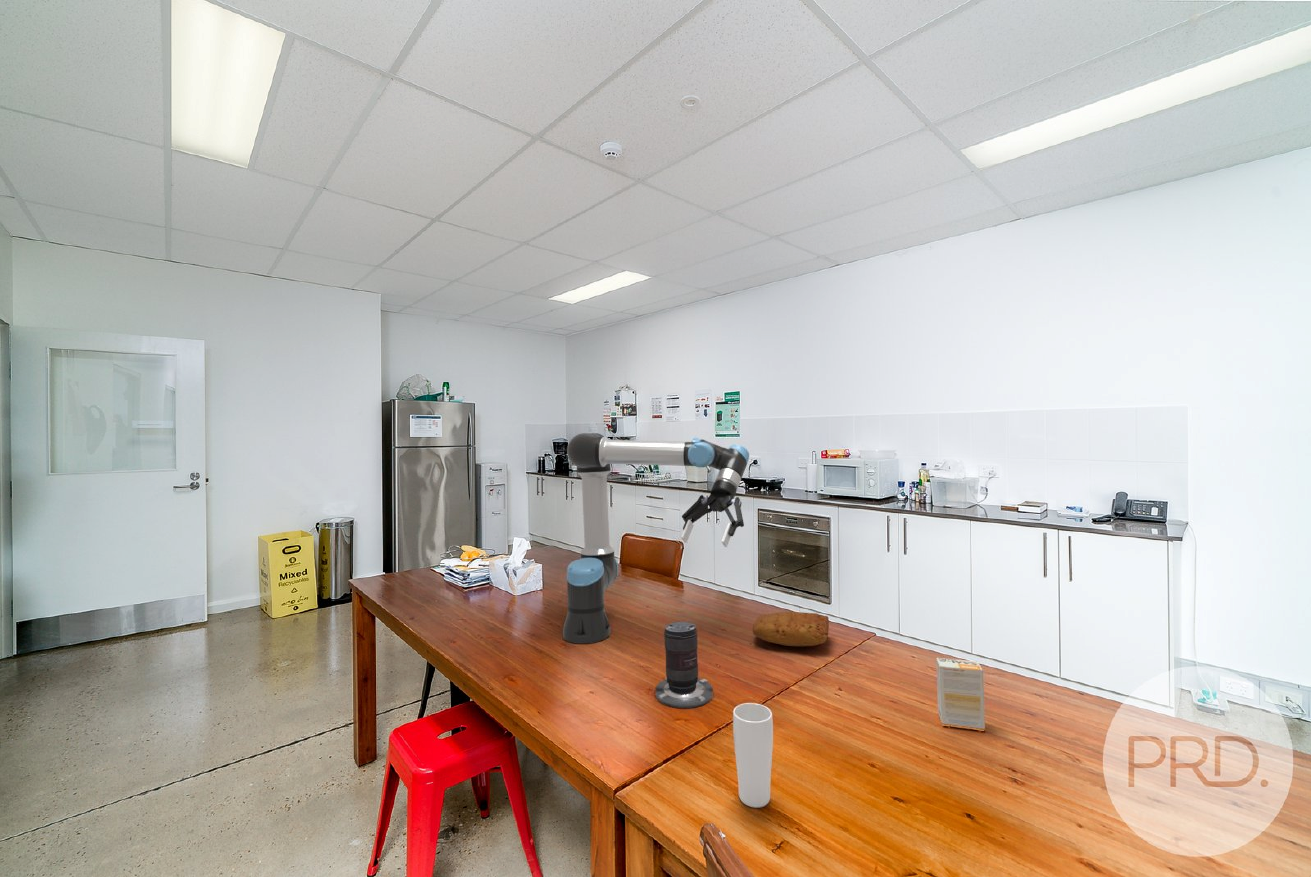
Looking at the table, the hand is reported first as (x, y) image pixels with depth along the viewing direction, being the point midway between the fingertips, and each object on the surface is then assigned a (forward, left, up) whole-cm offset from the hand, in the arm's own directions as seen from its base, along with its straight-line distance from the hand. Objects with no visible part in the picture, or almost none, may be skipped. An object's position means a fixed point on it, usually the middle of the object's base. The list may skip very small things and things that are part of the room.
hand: (703, 542), depth 157 cm
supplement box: (+64, +16, -32) cm, 74 cm away
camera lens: (+17, -22, -30) cm, 41 cm away
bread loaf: (+12, +23, -32) cm, 41 cm away
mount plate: (+17, -22, -32) cm, 42 cm away
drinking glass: (+54, -36, -32) cm, 72 cm away
